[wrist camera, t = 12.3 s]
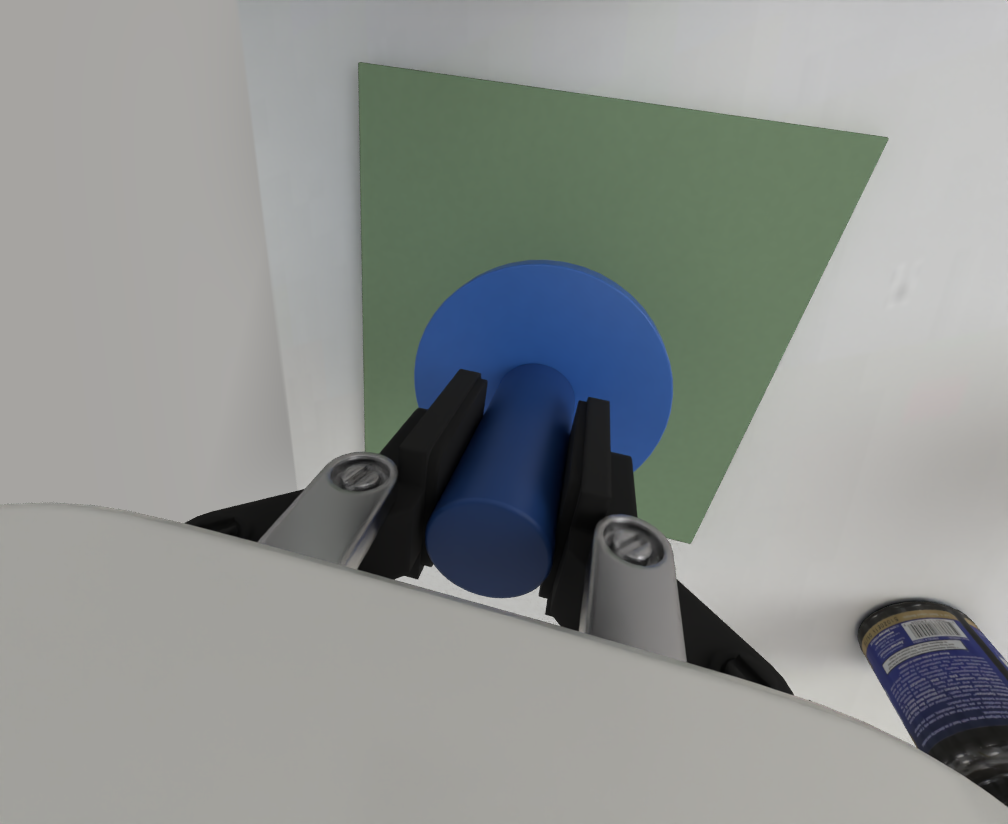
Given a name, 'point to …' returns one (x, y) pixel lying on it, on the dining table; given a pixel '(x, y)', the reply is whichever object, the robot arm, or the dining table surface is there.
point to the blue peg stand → (533, 409)
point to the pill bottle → (944, 687)
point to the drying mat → (602, 239)
